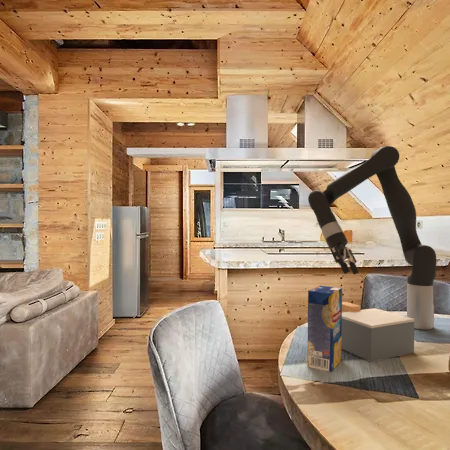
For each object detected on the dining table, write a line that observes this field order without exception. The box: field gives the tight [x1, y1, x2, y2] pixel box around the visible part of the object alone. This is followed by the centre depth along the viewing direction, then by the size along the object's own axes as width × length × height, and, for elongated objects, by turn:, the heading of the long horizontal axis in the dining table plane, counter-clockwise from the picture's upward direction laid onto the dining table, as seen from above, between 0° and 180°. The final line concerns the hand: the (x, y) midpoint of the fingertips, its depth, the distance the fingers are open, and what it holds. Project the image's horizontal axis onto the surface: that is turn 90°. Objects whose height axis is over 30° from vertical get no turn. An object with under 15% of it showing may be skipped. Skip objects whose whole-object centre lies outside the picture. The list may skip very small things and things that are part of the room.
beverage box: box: [306, 285, 343, 373], centre depth 107 cm, size 7×11×22 cm, turn 147°
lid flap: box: [342, 301, 414, 328], centre depth 123 cm, size 19×23×2 cm
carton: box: [341, 319, 415, 363], centre depth 120 cm, size 19×16×10 cm
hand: (352, 273), depth 136 cm, fingers open, 8 cm apart
